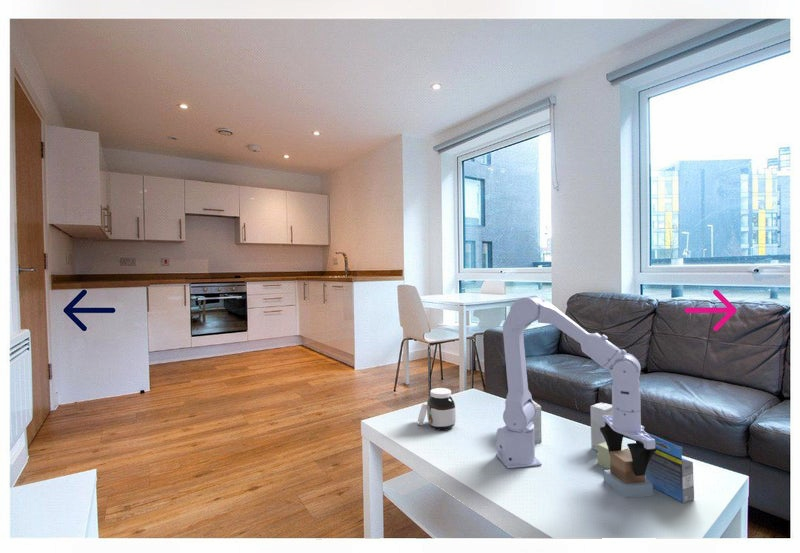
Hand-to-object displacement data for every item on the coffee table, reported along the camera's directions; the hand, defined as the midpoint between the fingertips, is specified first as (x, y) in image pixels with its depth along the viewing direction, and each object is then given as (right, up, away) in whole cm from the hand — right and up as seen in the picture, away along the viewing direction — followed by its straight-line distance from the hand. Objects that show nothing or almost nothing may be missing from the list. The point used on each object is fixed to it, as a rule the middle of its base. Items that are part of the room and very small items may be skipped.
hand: (627, 466), depth 89 cm
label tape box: (+8, -5, -2) cm, 10 cm away
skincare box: (+5, -5, +20) cm, 21 cm away
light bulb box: (-14, -5, +29) cm, 33 cm away
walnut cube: (0, -2, 0) cm, 2 cm away
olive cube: (+3, -5, +10) cm, 12 cm away
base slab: (0, -6, 0) cm, 6 cm away
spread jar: (-41, -6, +38) cm, 56 cm away
